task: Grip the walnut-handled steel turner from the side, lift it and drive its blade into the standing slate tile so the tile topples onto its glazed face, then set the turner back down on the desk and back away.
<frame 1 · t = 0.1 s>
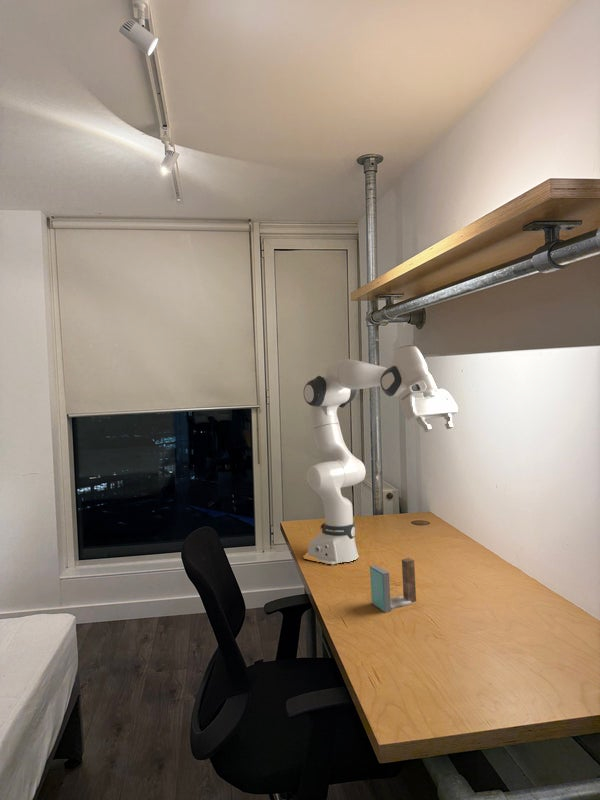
hand: (439, 429, 174), 54 cm above the table, tool tilted 30°, fingers open, 8 cm apart
tile: (381, 607, 175), on the table
turner: (409, 600, 179), on the table
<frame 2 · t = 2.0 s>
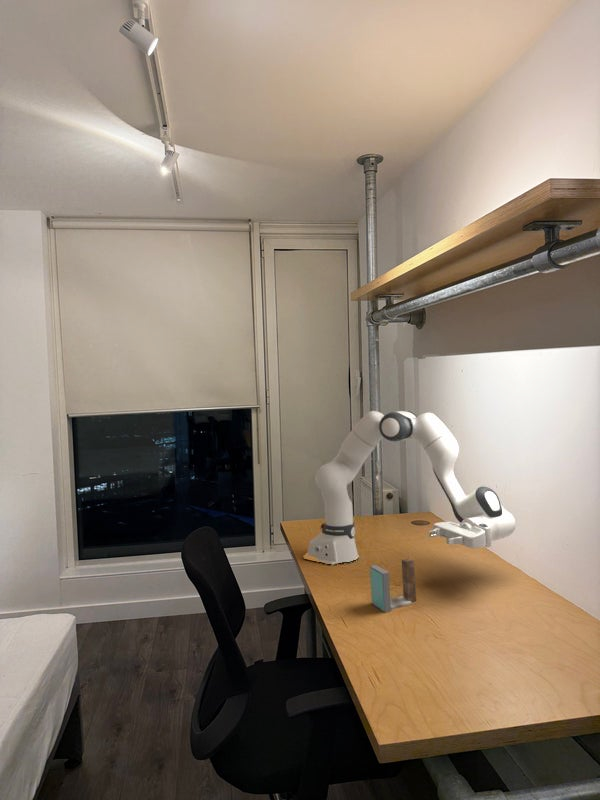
hand: (438, 538, 183), 18 cm above the table, tool horizontal, fingers open, 8 cm apart
nothing on the table moved.
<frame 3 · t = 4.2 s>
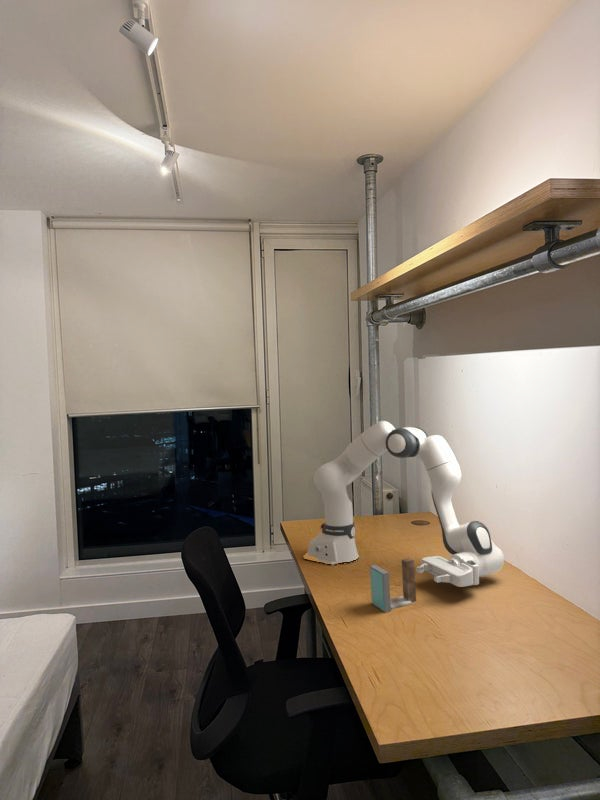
hand: (426, 574, 181), 7 cm above the table, tool horizontal, fingers open, 8 cm apart
nothing on the table moved.
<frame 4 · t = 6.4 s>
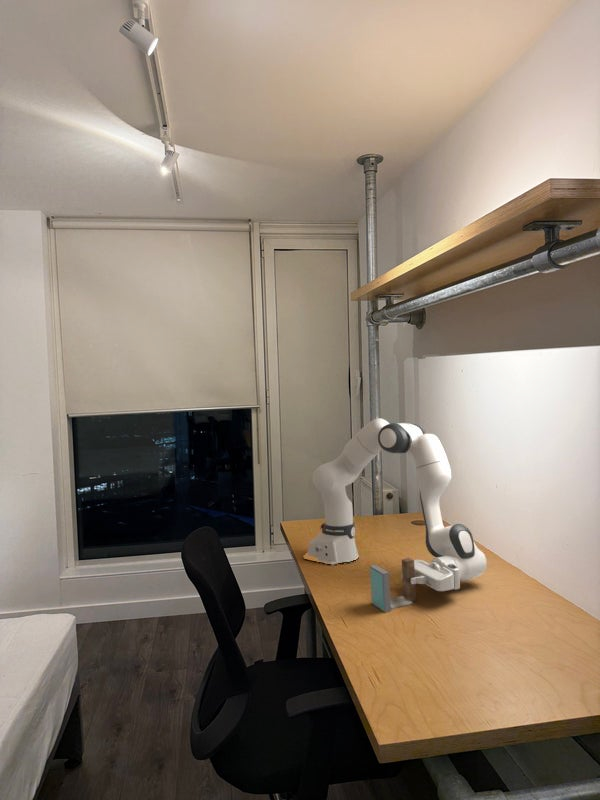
hand: (406, 578, 178), 7 cm above the table, tool horizontal, fingers closed on turner, 3 cm apart
turner: (409, 600, 179), on the table, touching gripper
everything else where it was.
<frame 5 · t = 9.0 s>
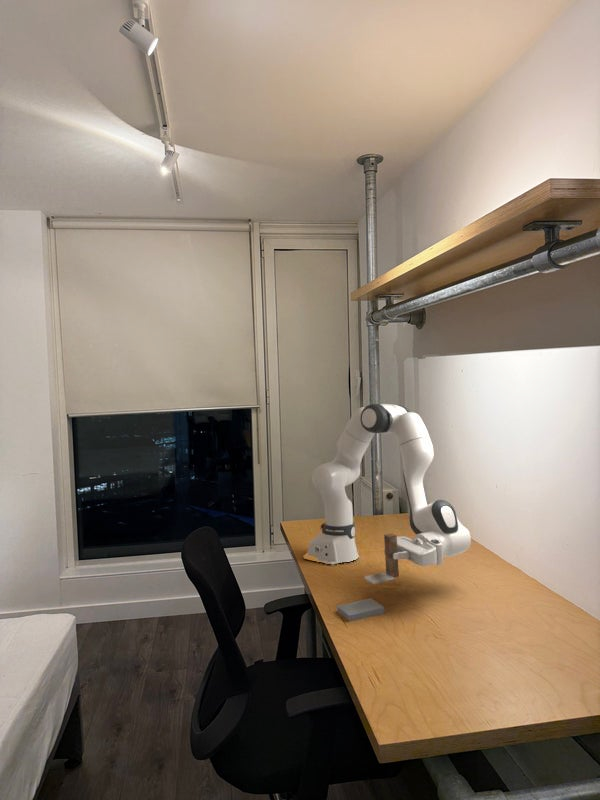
hand: (388, 554, 176), 16 cm above the table, tool horizontal, fingers closed on turner, 3 cm apart
tile: (377, 605, 174), point 1 cm above the table, tilted 90°
turner: (392, 575, 176), point 9 cm above the table, touching gripper
when the fingers open (8 cm above the table, at t = 12.0 s): turner stays where it is, on the table.
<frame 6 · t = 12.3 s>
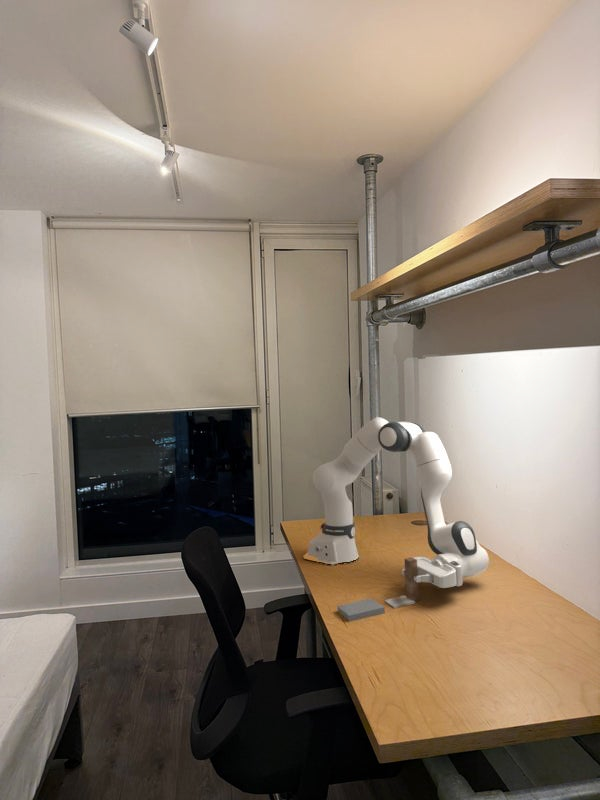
hand: (408, 575, 179), 8 cm above the table, tool horizontal, fingers open, 5 cm apart
turner: (412, 599, 179), on the table
everything else where it was.
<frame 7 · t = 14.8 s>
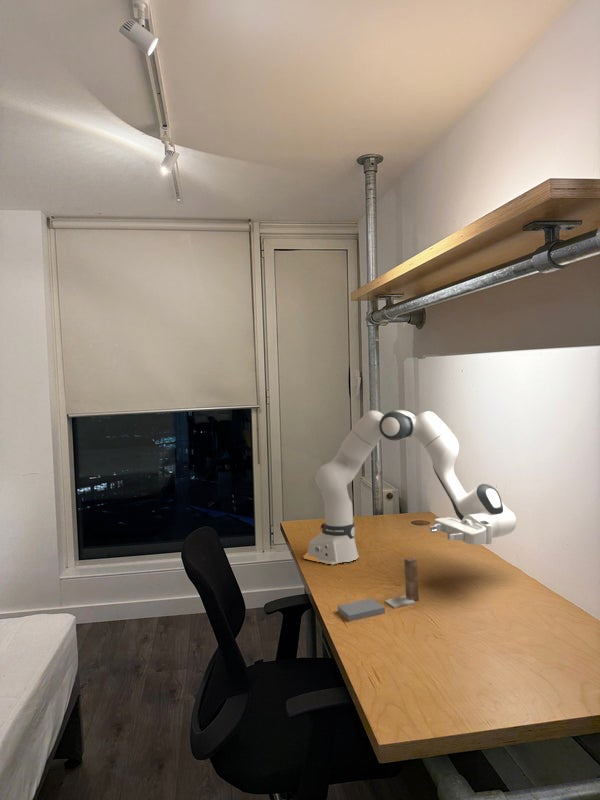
hand: (439, 533, 183), 19 cm above the table, tool horizontal, fingers open, 8 cm apart
nothing on the table moved.
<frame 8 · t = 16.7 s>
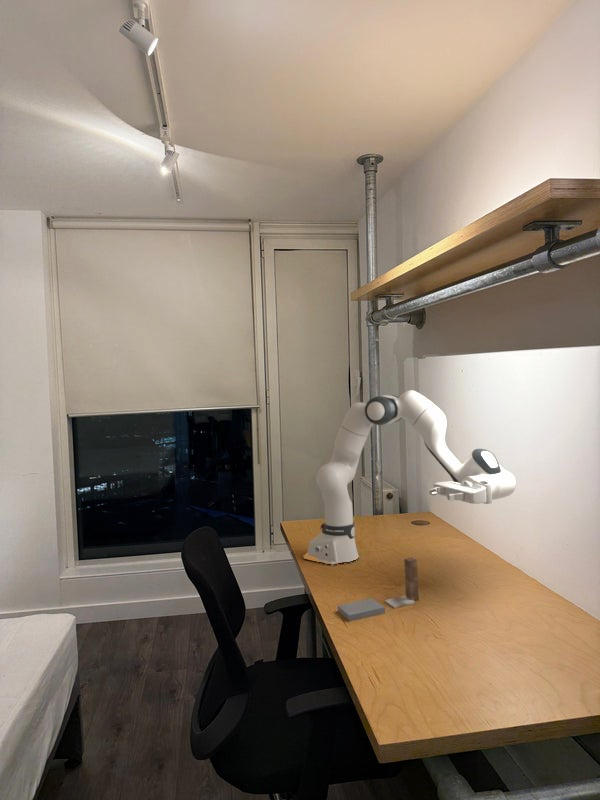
hand: (439, 495, 183), 32 cm above the table, tool horizontal, fingers open, 8 cm apart
nothing on the table moved.
at the end: tile tilted 90°; the gripper is holding nothing; turner on the table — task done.
